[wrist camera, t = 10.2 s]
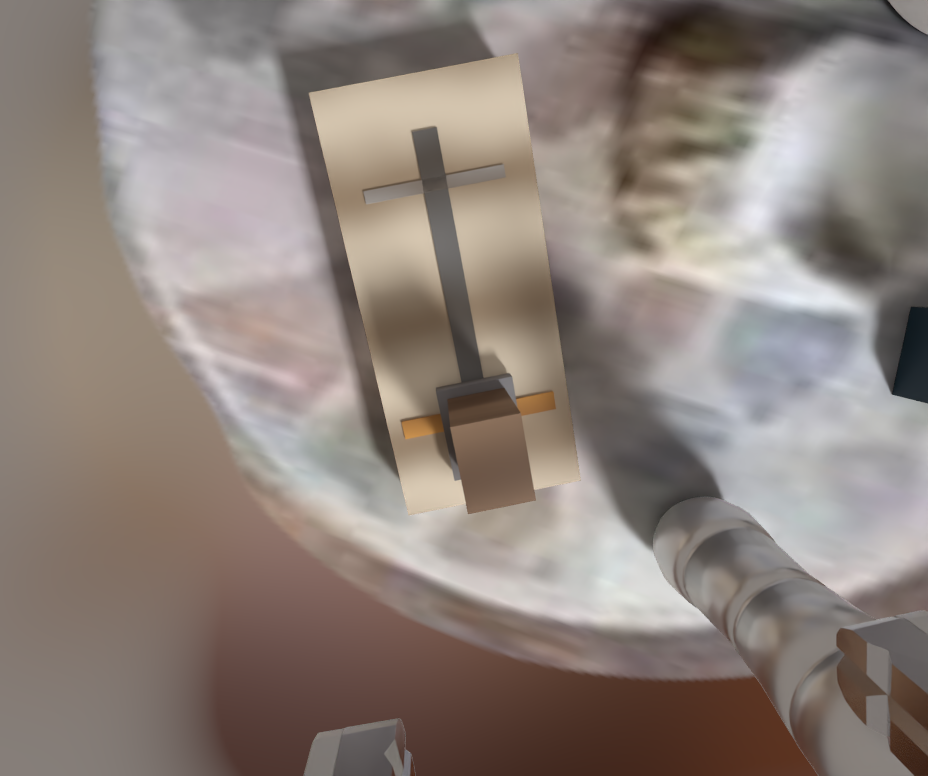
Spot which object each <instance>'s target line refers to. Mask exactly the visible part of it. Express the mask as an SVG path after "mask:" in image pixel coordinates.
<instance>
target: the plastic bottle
mask: <svg viewBox="0 0 928 776" xmlns="http://www.w3.org/2000/svg"><path fill="white" fill-rule="evenodd" d="M653 551H654V556H655V558H656V561H657V563H658V565H659V567H660V570H661V572H662V574H663V576H664V577H665V579H666V580H667V582H668V583H669V584H670V585H671V586H672V587H673V588H674V589H675V590H676V591H677V592H678V593H679V594H681V595H682V596H683V597H684V598H685V599H686V600H687V601H688V602H689V603H691V604H692V605H693V606H695V607H696V608H698V609H699V610H700V611H701V612H702V613H703V614H704V615H705V616H706V617H707V618H708V619H709V621H710V622H711V623H712V624H713V625H714V626H715V627H716V628H717V629H718V630H719V631H720V632H721V633H722V634H723V635H724V636H725V637H726V638H727V639H728V640H729V641H730V643H731V644H732V646H733V647H734V648H735V650H736V651H737V652H738V654H739V655H740V656H741V657H742V659H743V660H744V662H745V663H746V665H747V666H748V668H749V669H750V670H751V672H752V673H753V674H754V676H755V677H756V679H757V680H758V681H759V683H760V684H761V685H762V687H763V689H764V690H765V692H766V694H767V695H768V697H769V699H770V700H771V702H772V704H773V705H774V707H775V709H776V710H777V712H778V714H779V715H780V717H781V719H782V720H783V722H784V723H785V725H786V727H787V729H788V730H789V732H790V733H791V735H792V736H793V738H794V740H795V741H796V743H797V745H798V747H799V748H800V750H801V751H802V752H803V754H804V756H805V757H806V758H807V760H808V761H809V763H810V764H811V765H812V767H813V768H814V770H815V771H816V773H817V774H818V776H914V775H913V774H912V773H911V772H910V771H909V770H908V769H907V768H906V767H905V766H904V765H903V764H902V763H901V762H900V761H899V760H898V759H897V758H896V757H895V755H894V754H893V753H892V752H891V751H890V748H889V744H888V739H887V736H885V735H883V734H881V733H879V732H877V731H875V730H873V729H871V728H869V727H867V726H866V725H865V724H864V723H863V722H862V721H861V720H860V719H859V718H858V717H857V715H856V714H855V713H854V712H853V711H852V709H851V708H850V706H849V705H848V703H847V702H846V700H845V699H844V697H843V694H842V692H841V689H840V687H839V685H838V682H837V668H836V666H837V665H838V663H839V662H840V660H841V659H842V657H843V656H844V653H843V652H842V651H841V650H840V649H839V648H838V647H837V646H836V634H837V632H838V631H839V629H840V628H841V627H846V626H851V625H855V624H860V623H864V622H869V621H874V620H876V619H875V618H873V617H871V616H869V615H868V614H866V613H864V612H863V611H861V610H859V609H858V608H856V607H855V606H853V605H852V604H851V603H849V602H848V601H846V600H845V599H844V598H842V597H841V596H839V595H838V594H836V593H835V592H834V591H832V590H831V589H829V588H827V587H826V586H825V585H824V584H822V583H821V582H819V581H818V580H817V579H815V578H814V577H812V576H811V575H809V574H808V573H807V572H806V571H805V570H804V569H803V568H802V567H801V566H800V565H799V564H798V563H797V562H795V561H794V560H793V559H792V558H791V557H790V556H789V555H788V554H787V553H786V552H785V551H784V550H783V549H781V548H780V547H779V546H778V545H777V544H776V543H775V541H774V540H773V538H772V537H771V536H770V534H769V533H768V532H767V531H766V530H765V529H764V528H763V527H762V526H761V525H760V524H759V523H758V522H757V521H756V520H755V519H754V518H753V517H752V516H751V515H750V514H749V513H748V512H746V511H745V510H743V509H742V508H740V507H738V506H735V505H733V504H731V503H729V502H727V501H724V500H722V499H719V498H714V497H696V498H691V499H687V500H684V501H682V502H679V503H677V504H676V505H674V506H672V507H671V508H670V509H669V510H668V511H666V512H665V514H664V515H663V516H662V518H661V519H660V521H659V523H658V525H657V527H656V530H655V533H654V537H653Z"/></svg>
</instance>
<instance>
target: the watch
mask: <svg viewBox="0 0 928 776" xmlns="http://www.w3.org/2000/svg"><path fill="white" fill-rule="evenodd" d="M892 395H896V396H900V397H904V398H908V399H912V400H916V401H920V402H924V403H928V307H911V310H910V314H909V319H908V323H907V328H906V333H905V337H904V342H903V347H902V351H901V356H900V360H899V365H898V370H897V374H896V379H895V383H894V388H893V393H892Z"/></svg>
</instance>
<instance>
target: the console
mask: <svg viewBox="0 0 928 776" xmlns="http://www.w3.org/2000/svg"><path fill="white" fill-rule="evenodd" d="M309 96H310V101H311V105H312V109H313V113H314V118H315V122H316V126H317V130H318V134H319V139H320V143H321V147H322V151H323V156H324V160H325V164H326V168H327V172H328V177H329V181H330V185H331V189H332V194H333V198H334V202H335V206H336V211H337V215H338V219H339V223H340V227H341V232H342V236H343V240H344V244H345V249H346V253H347V257H348V261H349V265H350V270H351V274H352V278H353V282H354V287H355V291H356V295H357V299H358V303H359V308H360V312H361V316H362V320H363V325H364V329H365V333H366V337H367V341H368V346H369V350H370V354H371V358H372V363H373V367H374V371H375V375H376V379H377V384H378V388H379V392H380V396H381V401H382V405H383V409H384V413H385V417H386V422H387V426H388V430H389V434H390V439H391V443H392V447H393V451H394V455H395V460H396V464H397V468H398V472H399V477H400V481H401V485H402V489H403V493H404V498H405V502H406V506H407V510H408V515H414V514H419V513H423V512H428V511H433V510H438V509H443V508H448V507H453V506H458V505H463V504H466V501H465V497H464V492H463V487H462V482H461V480H457V481H454V476H453V471H452V466H451V462H450V457H449V452H448V447H447V443H446V438H445V433H444V428H443V424H442V419H441V414H440V409H439V405H438V400H437V395H436V387H441V386H446V385H451V384H456V383H461V382H466V381H471V380H476V379H481V378H486V377H491V376H496V375H501V374H506V373H510V374H511V376H512V378H513V384H514V390H515V396H516V402H517V407H518V409H519V411H520V413H521V416H522V422H523V428H524V434H525V440H526V446H527V451H528V457H529V463H530V469H531V475H532V481H533V486H534V490H536V489H541V488H546V487H551V486H556V485H561V484H566V483H571V482H576V481H581V479H580V472H579V465H578V458H577V451H576V445H575V438H574V431H573V424H572V418H571V411H570V404H569V397H568V390H567V384H566V377H565V370H564V363H563V357H562V350H561V343H560V336H559V330H558V323H557V316H556V309H555V302H554V296H553V289H552V282H551V275H550V269H549V262H548V255H547V248H546V241H545V235H544V228H543V221H542V214H541V208H540V201H539V194H538V187H537V180H536V174H535V167H534V160H533V153H532V147H531V140H530V133H529V126H528V120H527V113H526V106H525V99H524V92H523V86H522V79H521V72H520V65H519V59H518V53H516V54H511V55H505V56H500V57H495V58H490V59H484V60H479V61H474V62H468V63H463V64H458V65H453V66H447V67H442V68H437V69H431V70H426V71H421V72H416V73H410V74H405V75H400V76H395V77H389V78H384V79H379V80H373V81H368V82H363V83H358V84H352V85H347V86H342V87H337V88H331V89H326V90H321V91H315V92H310V93H309Z"/></svg>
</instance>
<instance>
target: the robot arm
mask: <svg viewBox="0 0 928 776" xmlns="http://www.w3.org/2000/svg"><path fill="white" fill-rule="evenodd" d="M888 1H889V2H890V4H891V5H892V6H893V7H894V9H895V10H896V11H897V12H898V13H899V14H900V15H901V16H902V17H903V18H904V19H905V20H906V21H907V22H909V23H910V24H911V25H912V26H914V27H915V28H917V29H918V30H920V31H921V32H923V33H925V34H927V35H928V0H888ZM836 646H837V647H838V648H839V649H840V650H841V651H842V652H843V653H844V656H843V657H842V659H841V660H840V662H839V663H838V665H837V666H836V668H837V682H838V685H839V687H840V689H841V692H842V694H843V697H844V699H845V700H846V702H847V703H848V705H849V706H850V708H851V709H852V711H853V712H854V713H855V714H856V715H857V717H858V718H859V719H860V720H861V721H862V722H863V723H864V724H865V725H866V726H867V727H869V728H871V729H873V730H875V731H877V732H879V733H881V734H883V735H885V736H887V739H888V744H889V748H890V751H891V752H892V753H893V754H894V755H895V757H896V758H897V759H898V760H899V761H900V762H901V763H902V764H903V765H904V766H905V767H906V768H907V769H908V770H909V771H910V772H911V773H912V774H913V775H914V776H928V612H927V611H924V610H921V611H916V612H911V613H907V614H902V615H897V616H894V617H887V618H883V619H878V620H874V621H869V622H864V623H860V624H855V625H851V626H846V627H841V628H840V629H839V631H838V632H837V634H836ZM405 737H406V733H405V730H404V727H403V723H402V720H401V719H392V720H387V721H381V722H375V723H369V724H364V725H358V726H352V727H347V728H344V729H339V730H333V731H327V732H321V733H318V734H317V736H316V738H315V739H314V741H313V743H312V746H311V750H310V754H309V757H308V761H307V765H306V769H305V772H304V776H416V775H415V769H414V763H413V759H412V755H411V753H409V752H408V751H407V750H405Z"/></svg>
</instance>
